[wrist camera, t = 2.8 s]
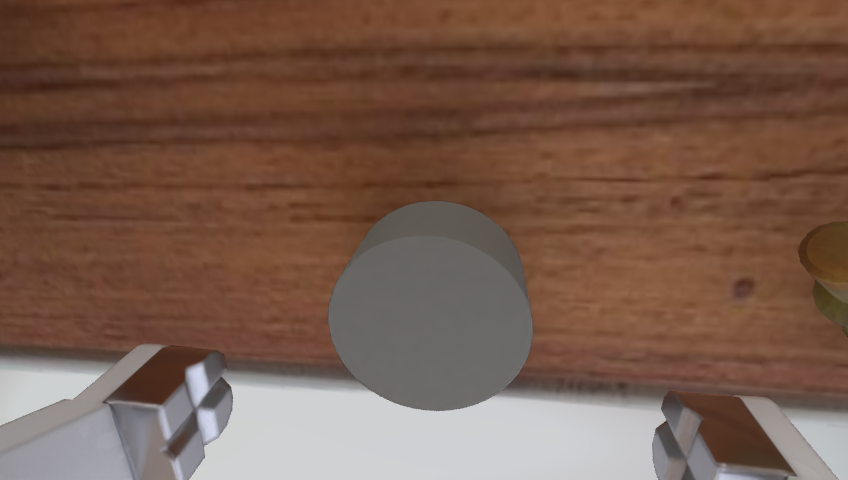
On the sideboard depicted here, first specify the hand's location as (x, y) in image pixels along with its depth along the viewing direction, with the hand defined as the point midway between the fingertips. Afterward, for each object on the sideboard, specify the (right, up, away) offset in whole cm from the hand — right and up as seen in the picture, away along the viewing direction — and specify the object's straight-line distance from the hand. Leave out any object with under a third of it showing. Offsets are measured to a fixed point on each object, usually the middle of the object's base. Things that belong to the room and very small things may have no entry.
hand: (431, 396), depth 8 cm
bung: (0, +2, +6) cm, 6 cm away
